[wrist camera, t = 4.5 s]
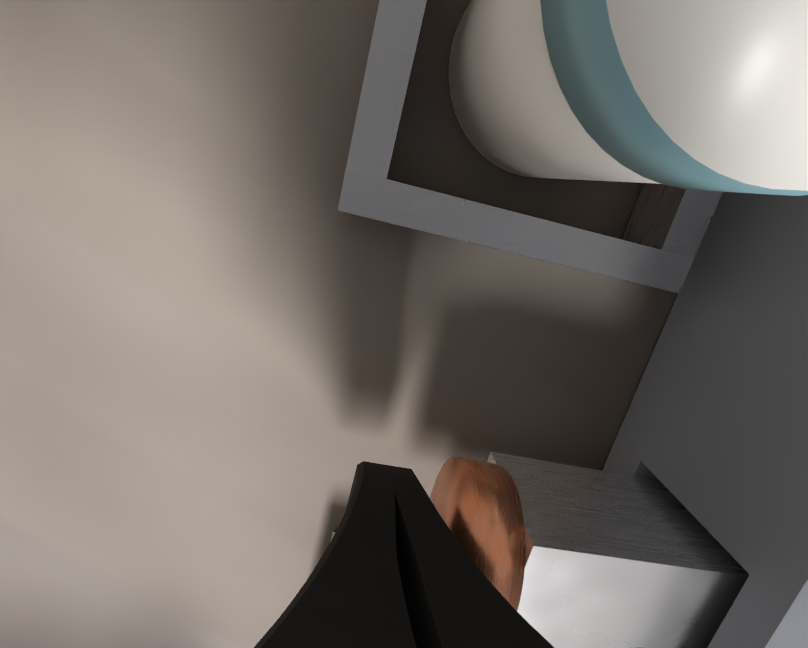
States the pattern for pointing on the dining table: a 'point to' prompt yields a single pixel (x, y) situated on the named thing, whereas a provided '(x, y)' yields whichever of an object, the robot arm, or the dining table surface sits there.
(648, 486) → the copper knob grey block
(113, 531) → the dining table surface
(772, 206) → the housing
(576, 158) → the cylinder
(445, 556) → the robot arm
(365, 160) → the collar
